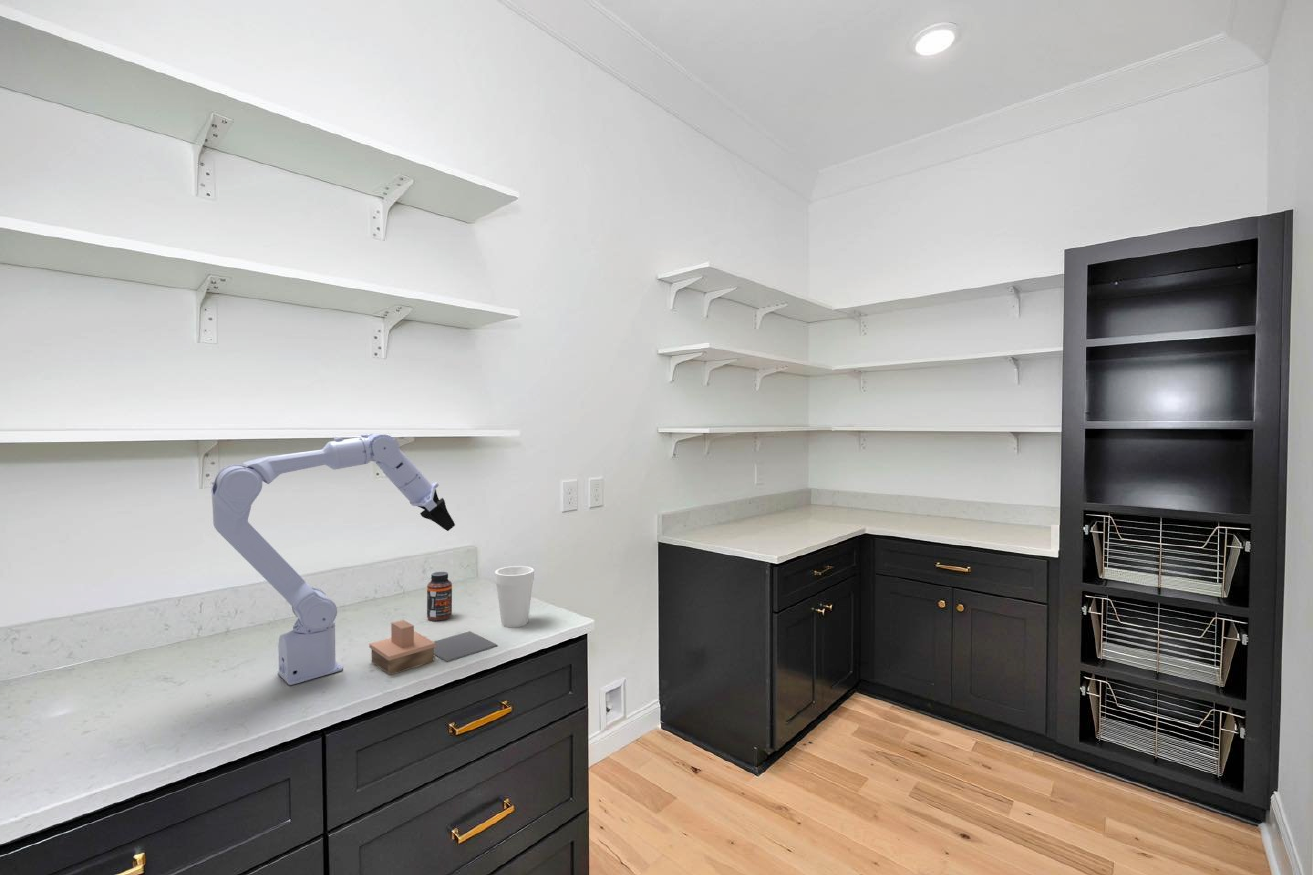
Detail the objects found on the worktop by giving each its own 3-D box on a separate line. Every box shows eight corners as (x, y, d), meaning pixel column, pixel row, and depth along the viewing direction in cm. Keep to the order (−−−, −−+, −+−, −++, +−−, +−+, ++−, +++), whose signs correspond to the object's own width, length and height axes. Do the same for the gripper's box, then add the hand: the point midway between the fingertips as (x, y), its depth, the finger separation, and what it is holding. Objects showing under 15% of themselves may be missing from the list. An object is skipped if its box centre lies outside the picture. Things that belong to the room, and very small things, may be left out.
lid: (388, 663, 113) (388, 636, 113) (369, 650, 120) (369, 624, 119) (435, 649, 120) (435, 623, 120) (415, 637, 127) (414, 613, 126)
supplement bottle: (435, 623, 142) (435, 577, 142) (422, 618, 146) (421, 573, 146) (456, 616, 147) (456, 572, 147) (443, 612, 151) (443, 569, 151)
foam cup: (488, 622, 144) (488, 570, 143) (521, 613, 150) (521, 564, 149) (506, 632, 137) (506, 577, 136) (541, 623, 143) (541, 571, 142)
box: (389, 674, 114) (389, 659, 113) (371, 661, 120) (371, 647, 120) (433, 661, 120) (433, 646, 120) (414, 649, 126) (414, 635, 126)
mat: (446, 662, 120) (446, 660, 120) (420, 646, 128) (420, 645, 128) (497, 645, 128) (497, 644, 128) (469, 632, 136) (469, 631, 136)
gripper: (430, 474, 121) (469, 520, 127) (418, 461, 133) (454, 503, 139) (401, 496, 119) (443, 541, 125) (392, 480, 131) (430, 522, 137)
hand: (447, 522), depth 132 cm, fingers open, 7 cm apart
